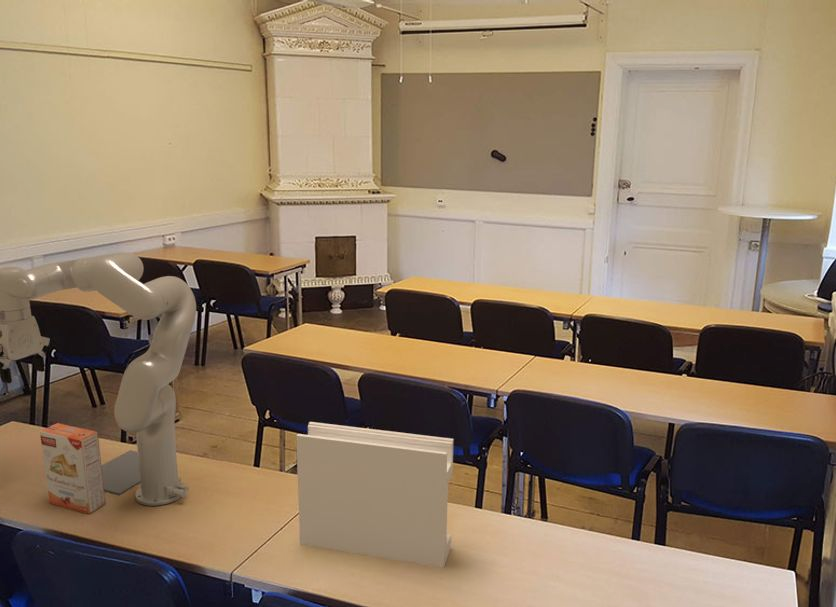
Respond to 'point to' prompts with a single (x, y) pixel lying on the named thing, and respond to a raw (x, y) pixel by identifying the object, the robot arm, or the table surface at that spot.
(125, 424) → the robot arm
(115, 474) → the mat
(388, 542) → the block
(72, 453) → the cracker box
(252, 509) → the table surface
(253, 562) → the table surface
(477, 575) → the table surface
